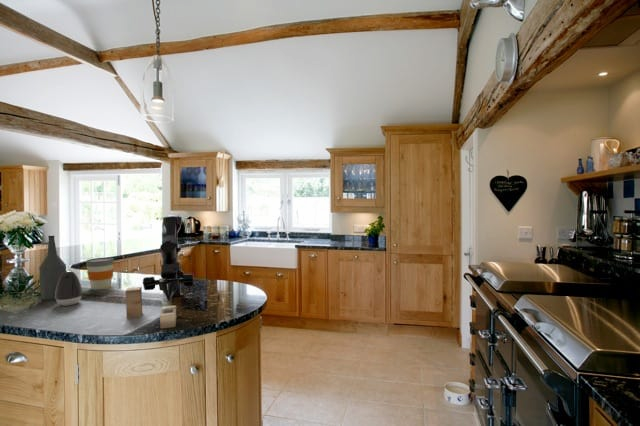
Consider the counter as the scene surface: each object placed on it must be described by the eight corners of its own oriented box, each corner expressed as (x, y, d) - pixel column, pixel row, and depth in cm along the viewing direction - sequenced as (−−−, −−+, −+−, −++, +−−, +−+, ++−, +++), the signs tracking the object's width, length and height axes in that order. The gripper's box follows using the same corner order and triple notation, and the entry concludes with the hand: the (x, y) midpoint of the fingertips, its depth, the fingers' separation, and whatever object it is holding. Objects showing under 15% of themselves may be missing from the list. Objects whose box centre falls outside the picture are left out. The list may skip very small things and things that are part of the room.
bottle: (43, 301, 165) (39, 237, 164) (38, 297, 172) (35, 235, 171) (69, 296, 173) (66, 235, 172) (64, 293, 180) (61, 233, 178)
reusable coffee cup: (115, 287, 189) (114, 259, 188) (87, 291, 182) (86, 262, 181) (113, 283, 199) (112, 256, 199) (87, 286, 192) (85, 259, 192)
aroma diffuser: (53, 309, 154) (51, 274, 153) (57, 302, 163) (56, 270, 163) (81, 305, 159) (79, 271, 158) (84, 299, 168) (82, 267, 167)
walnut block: (128, 314, 146) (127, 287, 146) (142, 312, 148) (141, 286, 148) (126, 318, 142) (125, 290, 141) (140, 316, 143) (139, 289, 143)
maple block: (162, 306, 140) (160, 315, 130) (175, 305, 142) (174, 313, 132) (162, 319, 141) (160, 329, 130) (176, 317, 142) (175, 327, 132)
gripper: (142, 257, 140) (139, 292, 131) (192, 254, 147) (193, 287, 137) (145, 273, 148) (143, 306, 138) (193, 269, 154) (194, 301, 145)
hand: (168, 300), depth 139 cm, fingers closed
